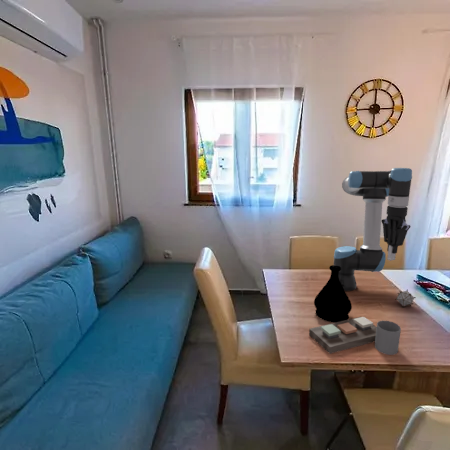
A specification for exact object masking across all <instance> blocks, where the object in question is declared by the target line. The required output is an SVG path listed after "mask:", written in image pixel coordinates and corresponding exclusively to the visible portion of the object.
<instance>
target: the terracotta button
mask: <svg viewBox="0 0 450 450" xmlns="http://www.w3.org/2000/svg"><path fill="white" fill-rule="evenodd" d="M337 328H339V330H340V331H342V332H343V333H344V334H346V335H348V334H352V333H355V332H357V329H356V328H355V327H354V326H352V325H351V324H349V323H344V324H339V325H337Z"/></svg>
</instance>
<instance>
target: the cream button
mask: <svg viewBox="0 0 450 450" xmlns="http://www.w3.org/2000/svg"><path fill="white" fill-rule="evenodd" d="M359 317H360V318H358V317H355V318H356V319H354V320H353V322H355V326H356V327H358V328H359V329H360V330H362V331H364V330H368V329H371V326H373V325H374V322H373V321H371V320H370V319H368V318H366V317H365V316H359Z"/></svg>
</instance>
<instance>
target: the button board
mask: <svg viewBox="0 0 450 450" xmlns="http://www.w3.org/2000/svg"><path fill="white" fill-rule="evenodd" d="M360 317H361V316H359V317H354V318H349V319H348V320H345V321H340V322H336V323H333V322H331V323H329V324H324V325H319V326H315V327H314V326H313V327H311V328H309V329H308V330H309V331H308V335H309V336H310V338H312V339H313V340H314V339H315V340H314V341H315V342H316V343H317V342H318V343H317V344H318V345H319V346H321V347H322V349H324V350H325V351H326V352H327V353H328V354H330V355H331V354H334V353H338V352H341V351H342V352H343V351H345V350H348V349H354V348H356V347H360V346H364V345H368V344H372V343H375V337H376V328H377V325H374V324H373V326H371V329H368V330H364V331H362V330H360V329H359V328H358V327H356V326H355V322H353V320H354V319H356V318H360ZM344 323H349V324H351V325H352V326H354V327H355V328H356V329H357V332H355V333H352V334H348V335H346V334H344V333H343V332H342V331H341V334H338V337H336V338H332V339H328V338H327V337H326V336H325V335H324V334H323V331H322V330H321V327H322V326H326V325H330V324H333V325H334V326H335V327H336V328H337V325H339V324H344ZM338 329H339V328H338Z"/></svg>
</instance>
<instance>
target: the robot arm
mask: <svg viewBox="0 0 450 450" xmlns="http://www.w3.org/2000/svg"><path fill="white" fill-rule="evenodd" d="M412 180H413V170H412V168H410V167H409V168H408V167H393V168H391V170H385V171H384V170H383V171H382V170H380V171H379V170H377V171H373V170H371V171H370V170H369V171H368V170H367V171H365V170H363V171H361V170H354V171H353V170H352V171H350V172H349V173H348V176H346V177H345V178H344V179H343V180H342V183H341V188H342V190H343V191H344V192H345V193H346V194H348V195H351V196H354V197H356V196H357V197H362V200H363V201H364V202H365V204H364V205H365V207H364V208H365V209H364V222H363V240H362V242H363V243H362V245H360V247H359V249H357V248H356V247H354V246H349V245H345V246H339V247H337V248H335V250H334V255H333V265H337V266H340V267H341V270H340V271H339V280H340V283H341V285H342V287H343V289H344V290H345V292H350V291H354V290H356V289H357V281H356V276H355V271H358V272H359V271H361V272H372V273H373V272H374V273H375V272H376V273H377V272H378V273H379V272H381V271H382V270H383V269H384V267H385V265H386V259H387V260H388V261H395V260H396V256H397V255H396V254H398V248H399V247H400V246H403V245H404V241H405V239H406V236H407V234H408V231H409V229H410V228H411V224H408V223H407V221H406V216H408V210H409V209H408V206H409V203H410V193H411V186H412ZM387 197H388V198H387ZM386 199H387V200H386ZM385 201H387V206H386V215H387V216H386V218H384V219H382V213H383V203H384V202H385ZM381 230H382V231H381ZM382 232H383V233H382ZM381 233H382V234H383V241H384V242H385V243H386V244H387V249H386V250H387V258H386V252H385V251H383V248H382V246H381V245H380V244H381Z"/></svg>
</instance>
